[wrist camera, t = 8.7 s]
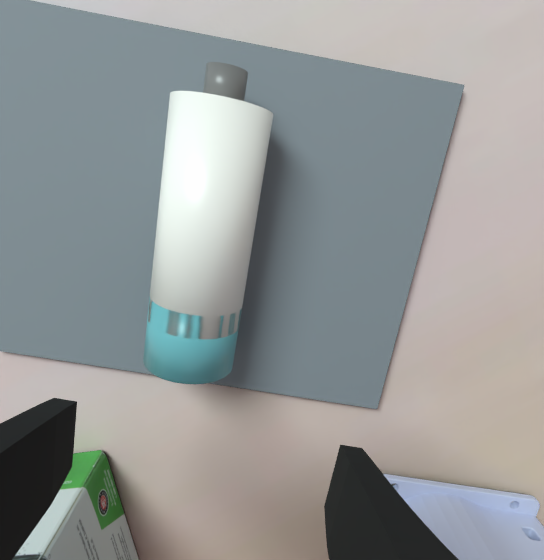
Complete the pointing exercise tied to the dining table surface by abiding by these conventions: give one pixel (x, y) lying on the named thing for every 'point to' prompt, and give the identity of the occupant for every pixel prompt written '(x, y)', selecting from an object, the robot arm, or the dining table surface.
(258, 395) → the dining table surface
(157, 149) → the mat
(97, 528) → the ink box
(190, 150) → the bottle
